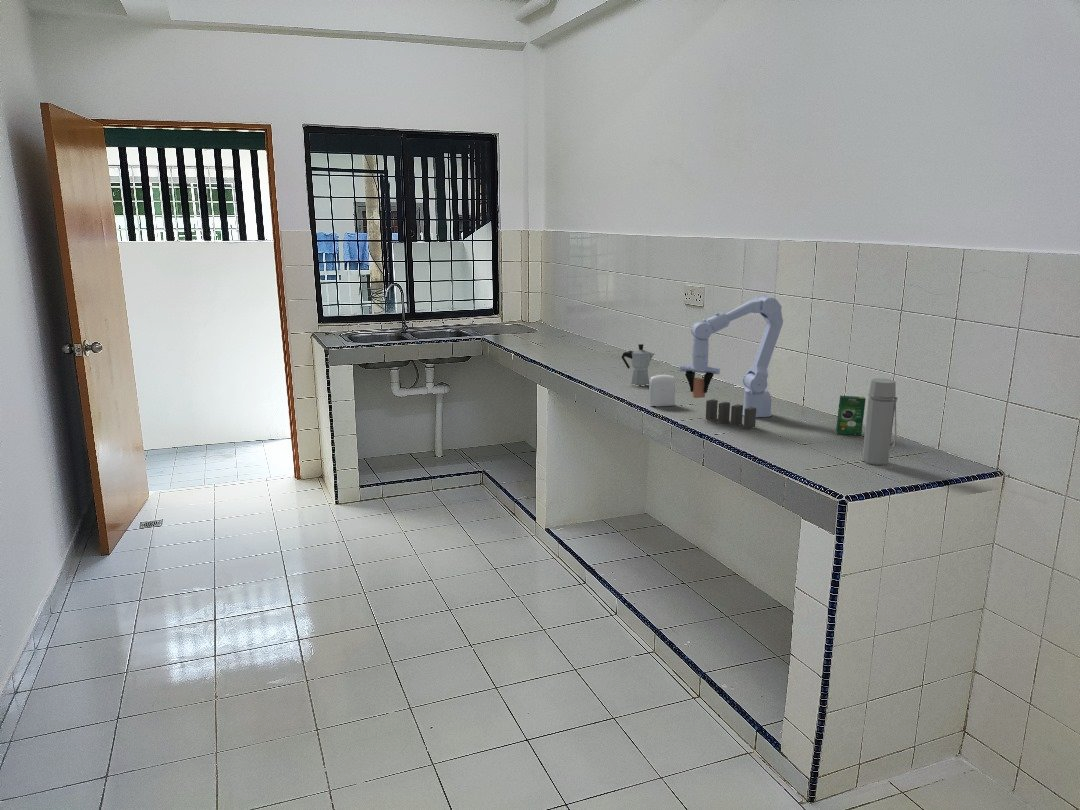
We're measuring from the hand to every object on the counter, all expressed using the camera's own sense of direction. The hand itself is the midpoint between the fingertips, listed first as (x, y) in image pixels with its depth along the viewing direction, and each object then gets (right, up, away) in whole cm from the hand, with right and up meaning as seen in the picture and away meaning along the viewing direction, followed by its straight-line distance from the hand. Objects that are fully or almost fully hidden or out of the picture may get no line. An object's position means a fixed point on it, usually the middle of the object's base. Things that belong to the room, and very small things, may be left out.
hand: (698, 391), depth 283 cm
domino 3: (+11, -12, -9) cm, 19 cm away
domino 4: (+15, -13, -14) cm, 24 cm away
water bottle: (+43, -22, -53) cm, 72 cm away
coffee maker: (-15, +4, +59) cm, 61 cm away
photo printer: (-11, -5, +20) cm, 23 cm away
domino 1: (+4, -10, -1) cm, 11 cm away
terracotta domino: (0, -2, 0) cm, 2 cm away
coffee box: (+46, -15, -23) cm, 54 cm away
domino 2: (+8, -11, -5) cm, 14 cm away
